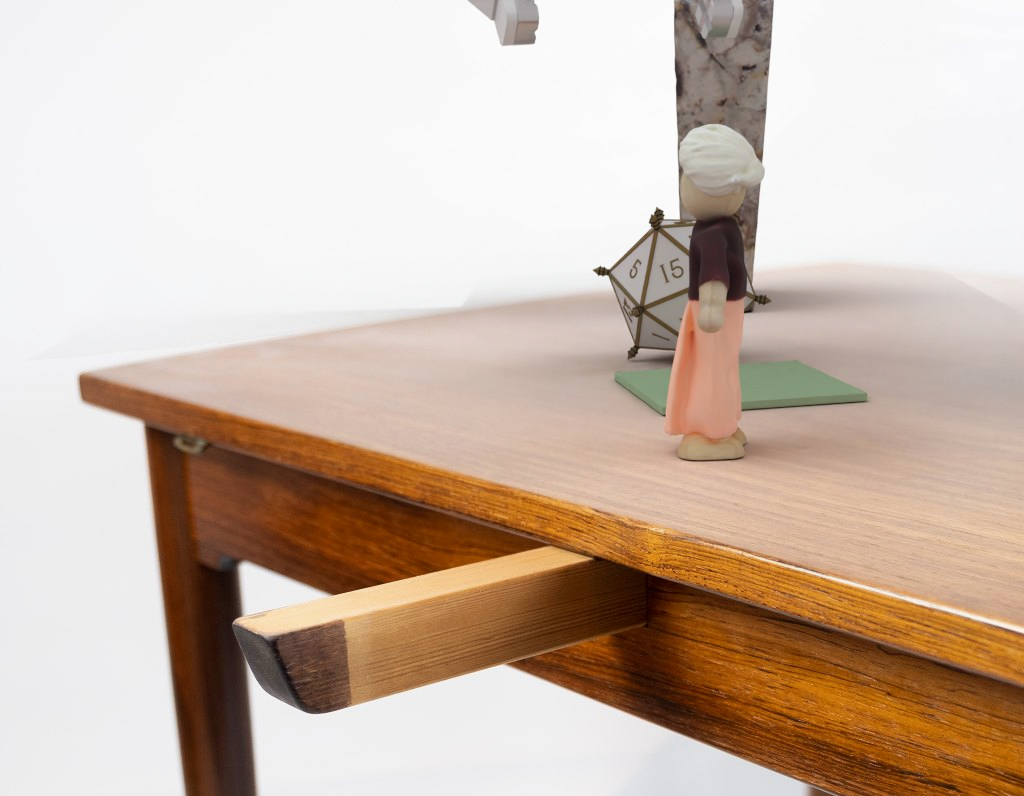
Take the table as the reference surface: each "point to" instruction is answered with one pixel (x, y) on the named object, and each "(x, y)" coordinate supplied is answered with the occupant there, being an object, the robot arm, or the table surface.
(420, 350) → the table surface
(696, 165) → the grandmother figurine
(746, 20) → the stone block
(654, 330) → the game die
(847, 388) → the mat
